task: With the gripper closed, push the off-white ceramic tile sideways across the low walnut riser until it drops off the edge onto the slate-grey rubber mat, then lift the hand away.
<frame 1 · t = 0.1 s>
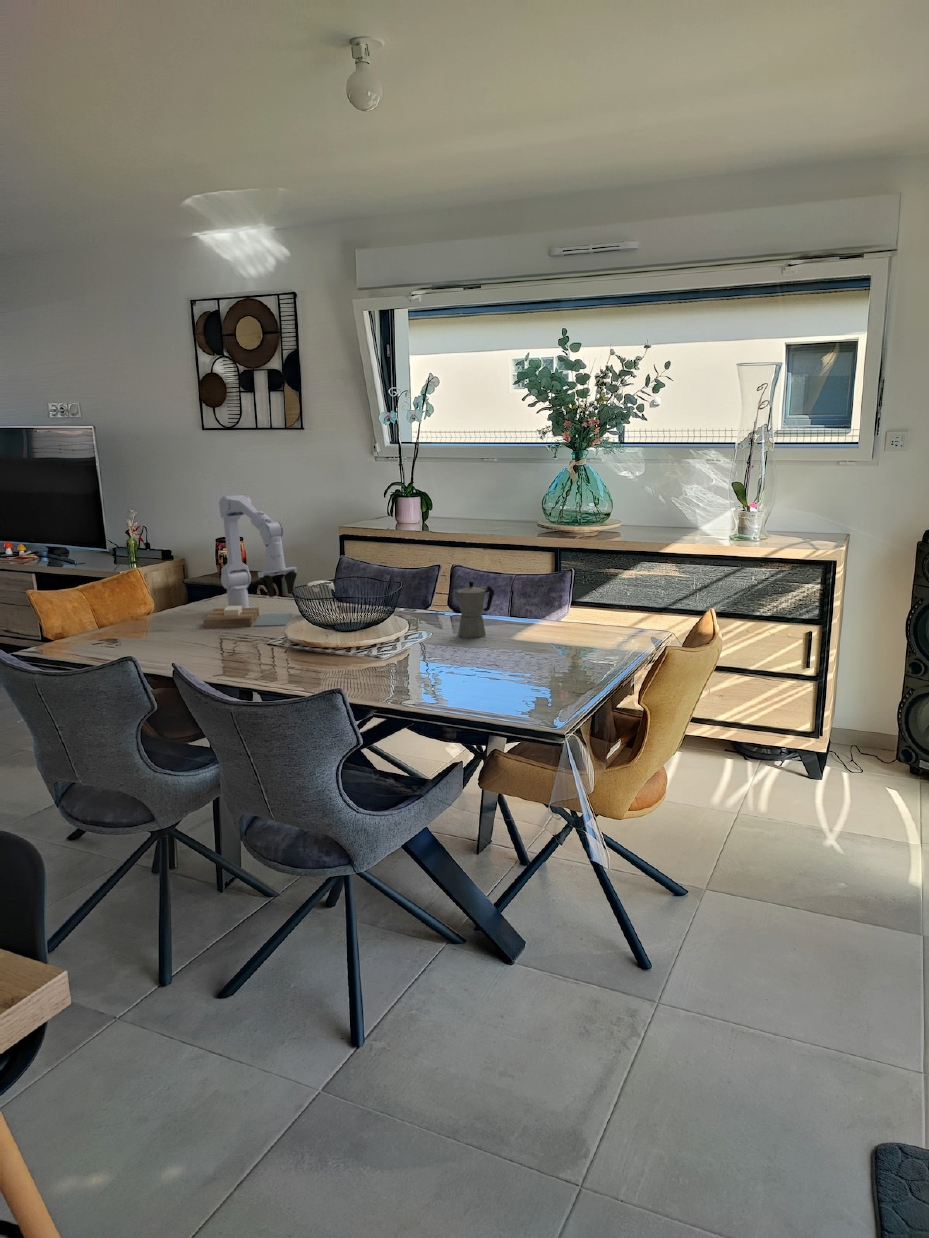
hand: (281, 595, 306), 11 cm above the table, tool pointing down, fingers open, 7 cm apart
riser: (232, 621, 314), on the table
coffeepot: (474, 634, 290), on the table
mat: (273, 620, 315), on the table
tile: (233, 613, 314), point 3 cm above the table, touching riser
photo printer: (321, 614, 325), on the table
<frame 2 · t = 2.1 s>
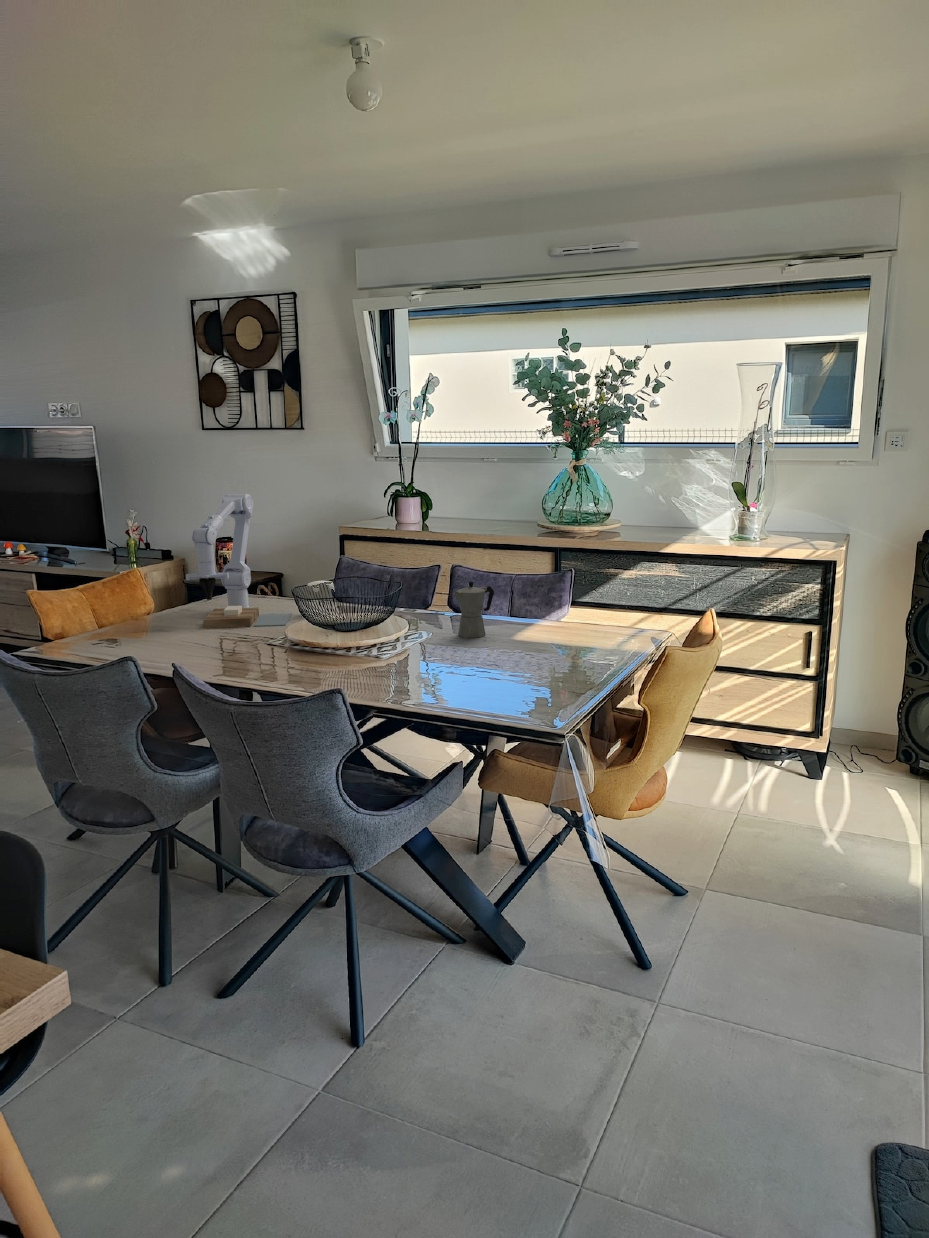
hand: (209, 599, 312), 8 cm above the table, tool pointing down, fingers closed
nothing on the table moved.
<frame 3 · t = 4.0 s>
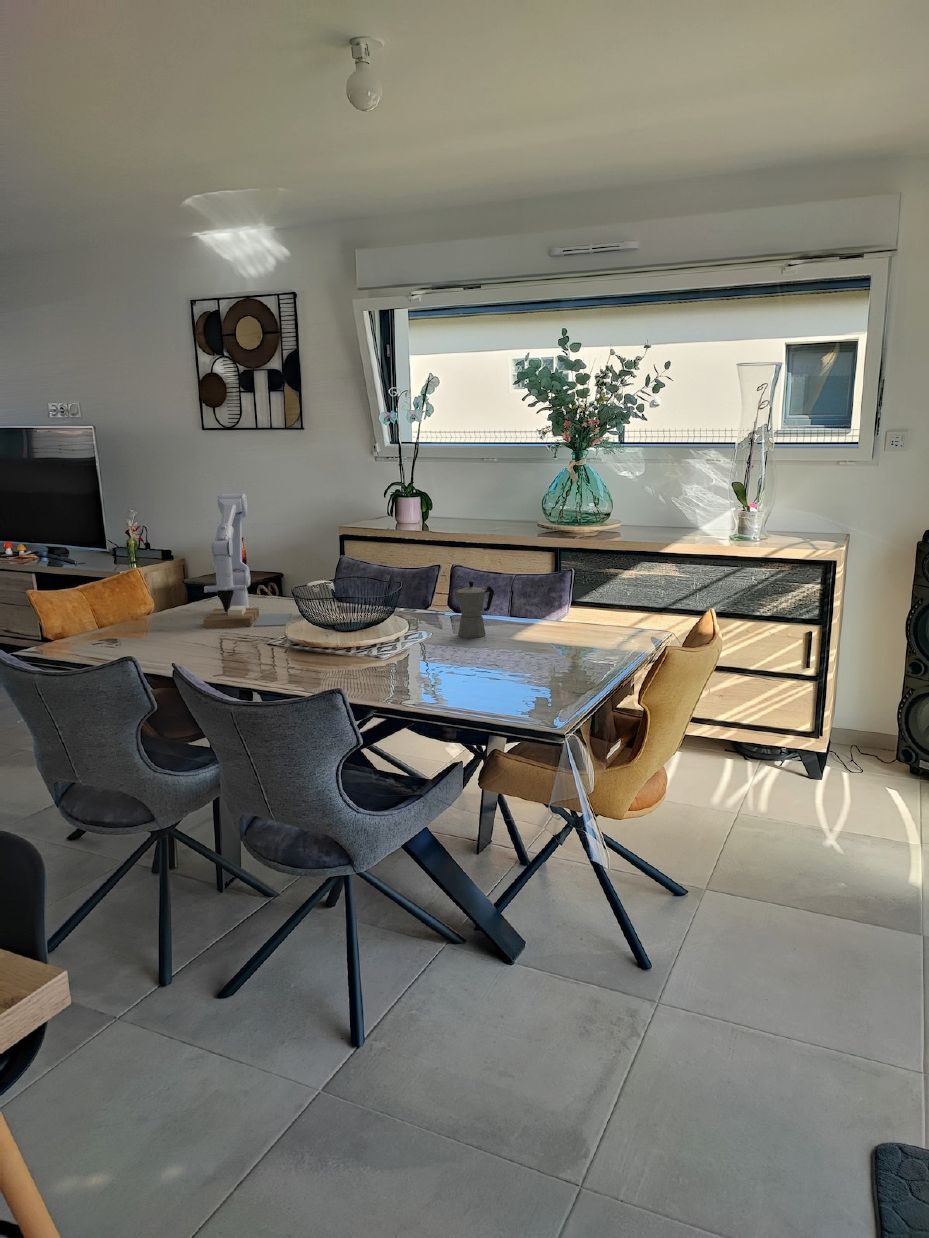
hand: (227, 611, 313), 4 cm above the table, tool pointing down, fingers closed
tile: (237, 613, 314), point 3 cm above the table, touching gripper, riser
everything else where it was.
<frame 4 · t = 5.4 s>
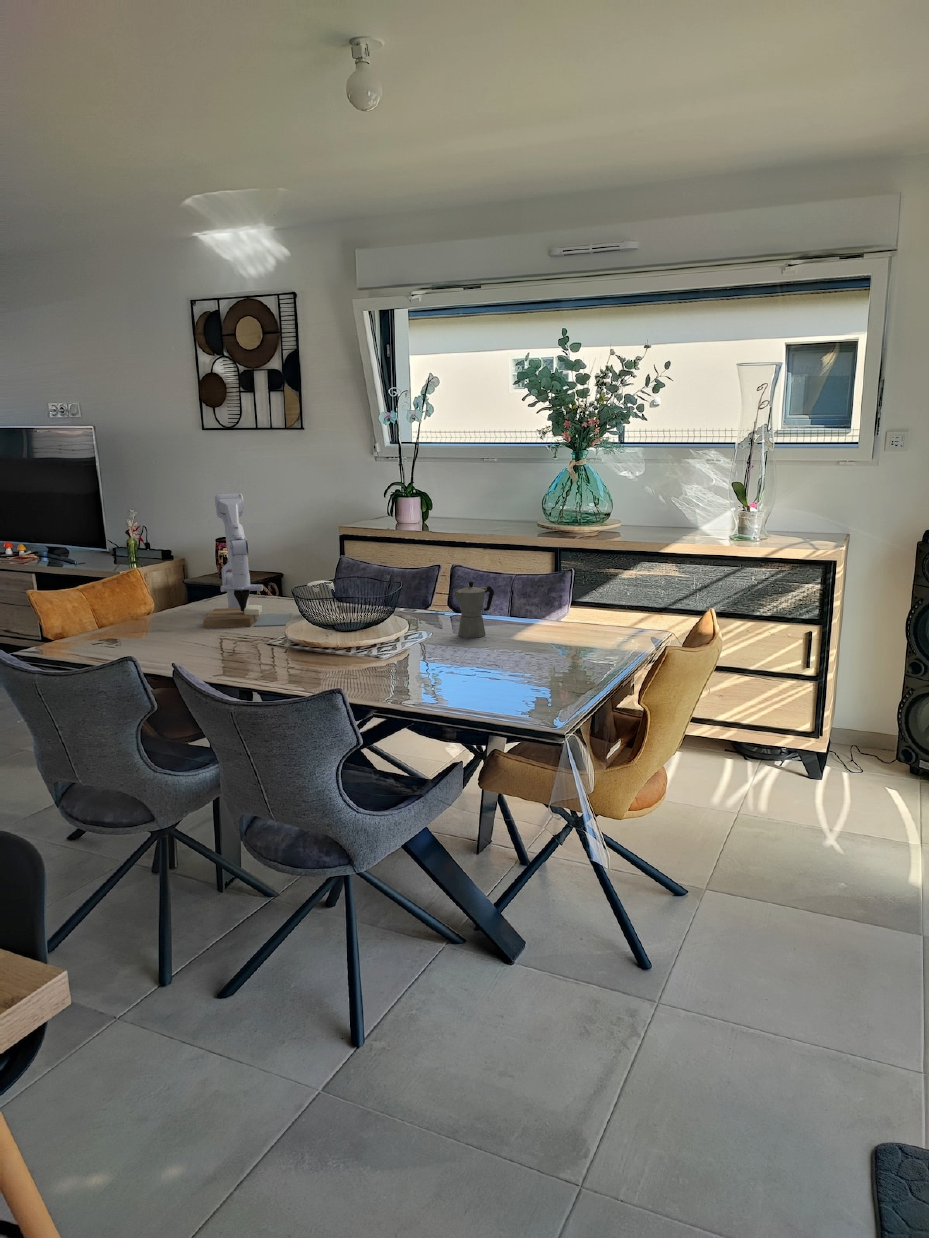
hand: (243, 610, 314), 4 cm above the table, tool pointing down, fingers closed
tile: (253, 612, 314), point 3 cm above the table, touching gripper
everything else where it was.
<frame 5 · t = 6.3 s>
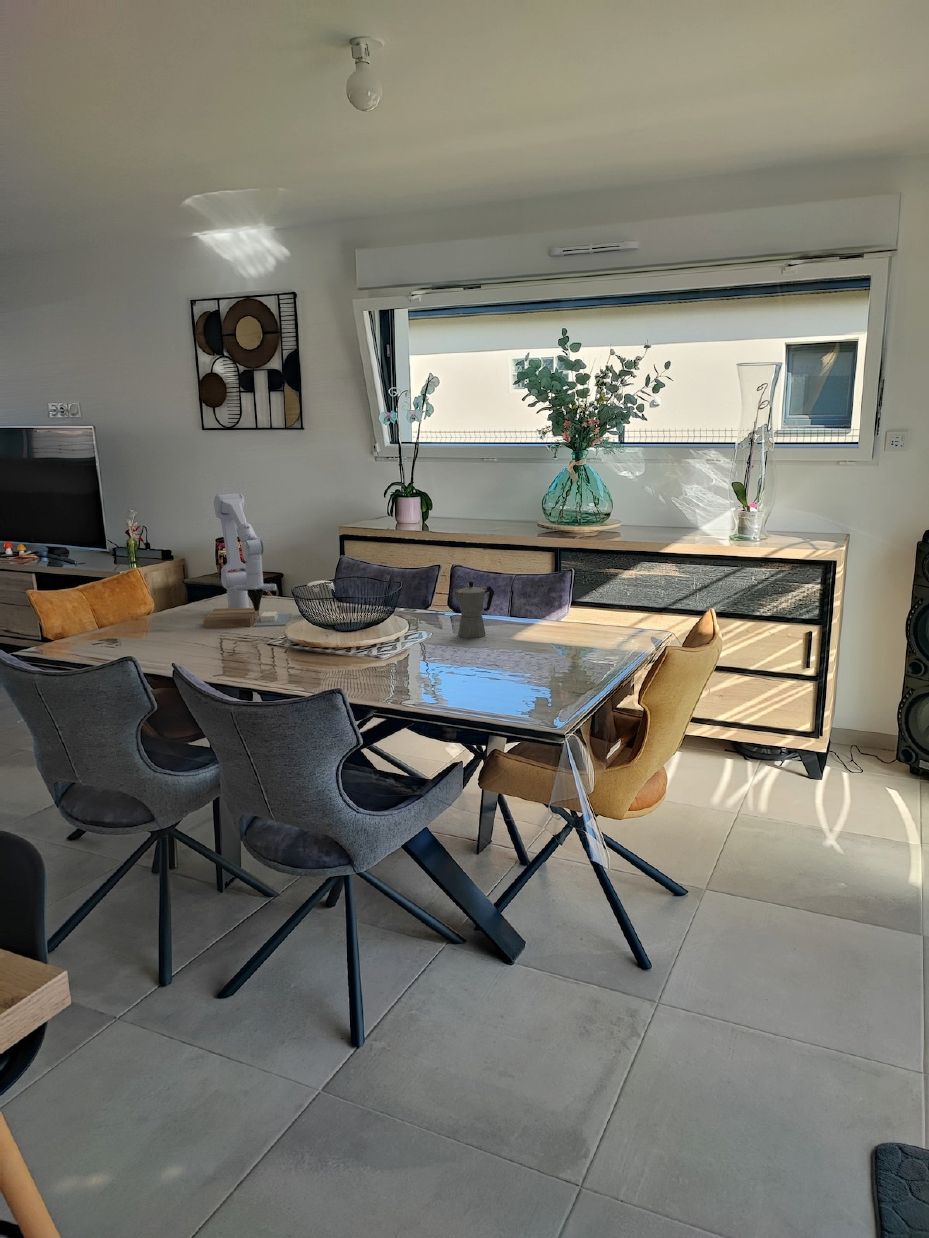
hand: (257, 610, 314), 4 cm above the table, tool pointing down, fingers closed
tile: (269, 613, 314), point 2 cm above the table, tilted 180°, touching mat
everything else where it was.
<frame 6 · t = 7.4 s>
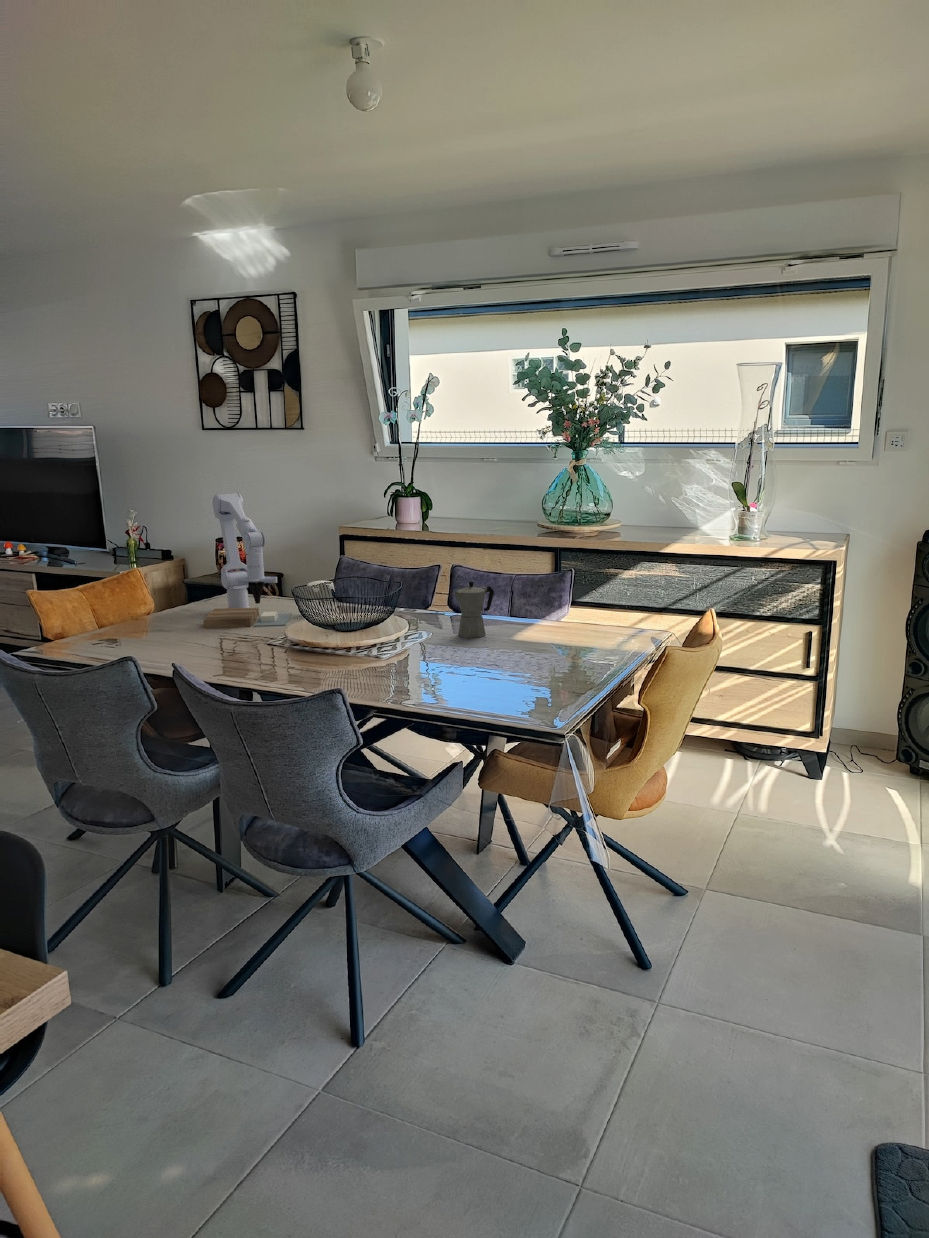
hand: (257, 603, 313), 7 cm above the table, tool pointing down, fingers closed
nothing on the table moved.
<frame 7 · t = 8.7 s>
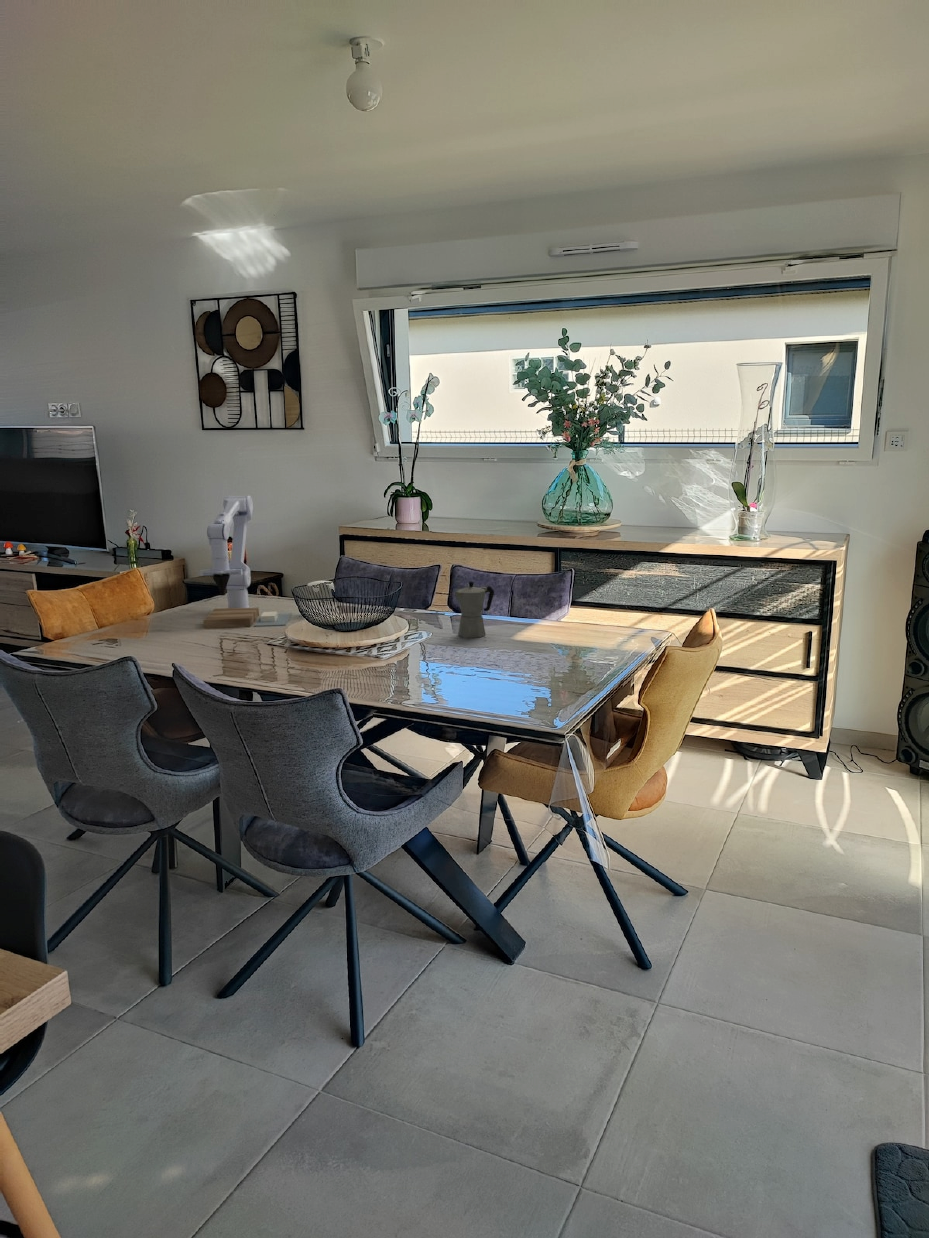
hand: (223, 595, 314), 9 cm above the table, tool pointing down, fingers closed
nothing on the table moved.
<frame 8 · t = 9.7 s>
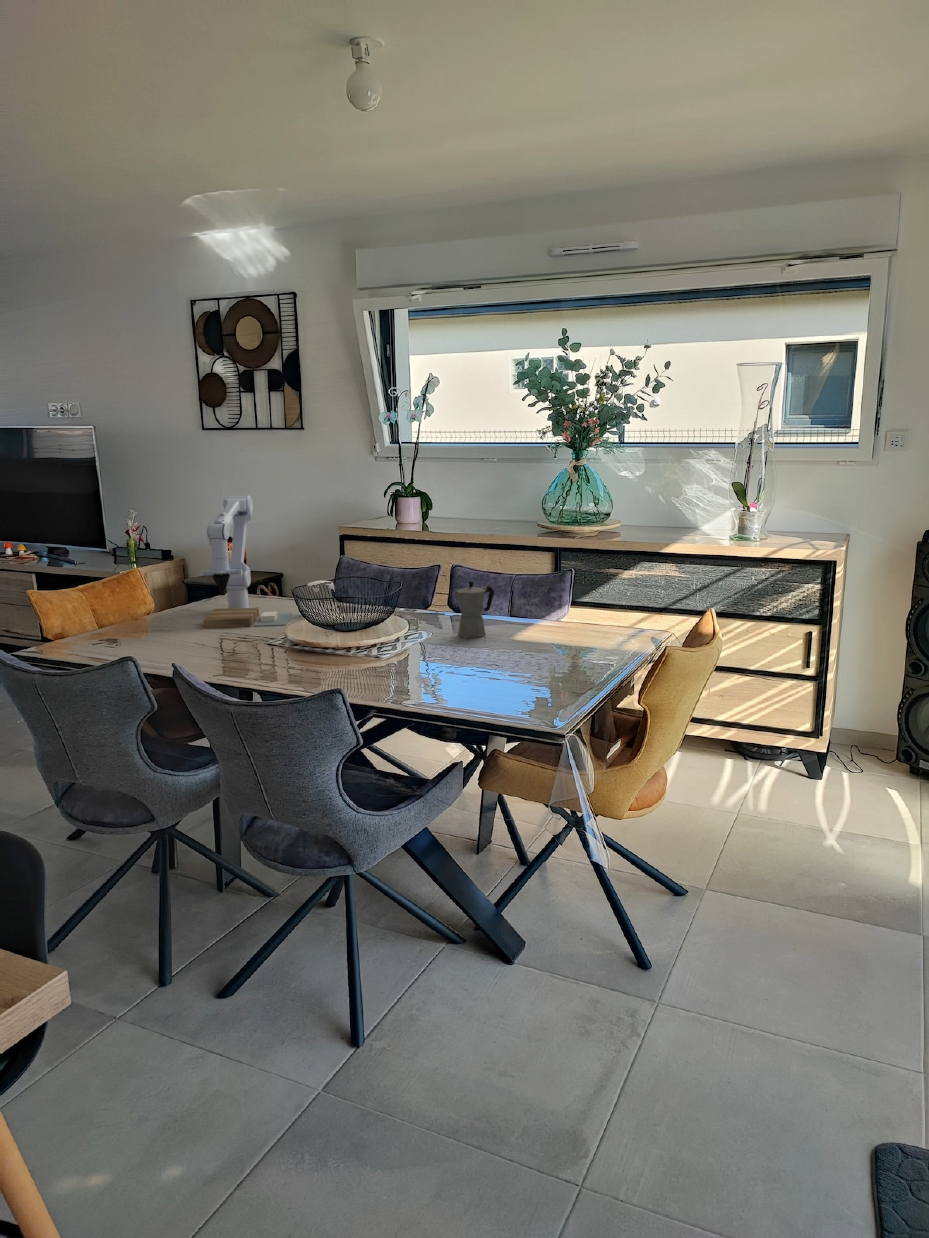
hand: (223, 595, 314), 9 cm above the table, tool pointing down, fingers closed
nothing on the table moved.
at the end: tile inside the target area (1.6 cm from its centre), point 2.4 cm above the table; tile touching mat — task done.
